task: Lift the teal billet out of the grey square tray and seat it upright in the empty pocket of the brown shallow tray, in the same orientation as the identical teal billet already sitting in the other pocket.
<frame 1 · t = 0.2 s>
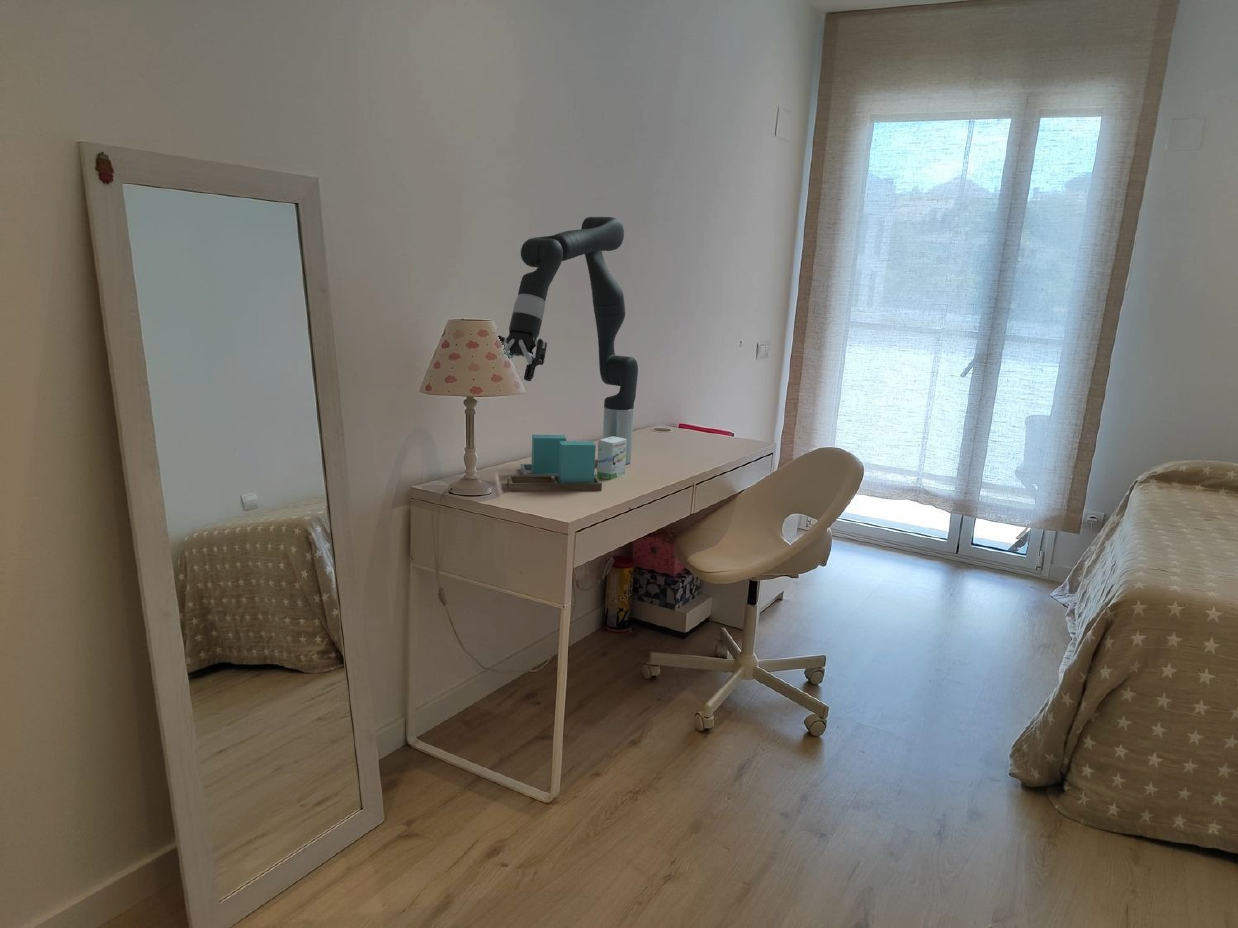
hand: (513, 378, 197), 31 cm above the table, tool tilted 20°, fingers open, 8 cm apart
ink box: (610, 479, 230), on the table
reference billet: (575, 486, 216), point 1 cm above the table, touching brown shallow tray
brown shallow tray: (554, 490, 215), on the table
grey square tray: (547, 477, 229), on the table
billet: (548, 457, 227), in the grey square tray
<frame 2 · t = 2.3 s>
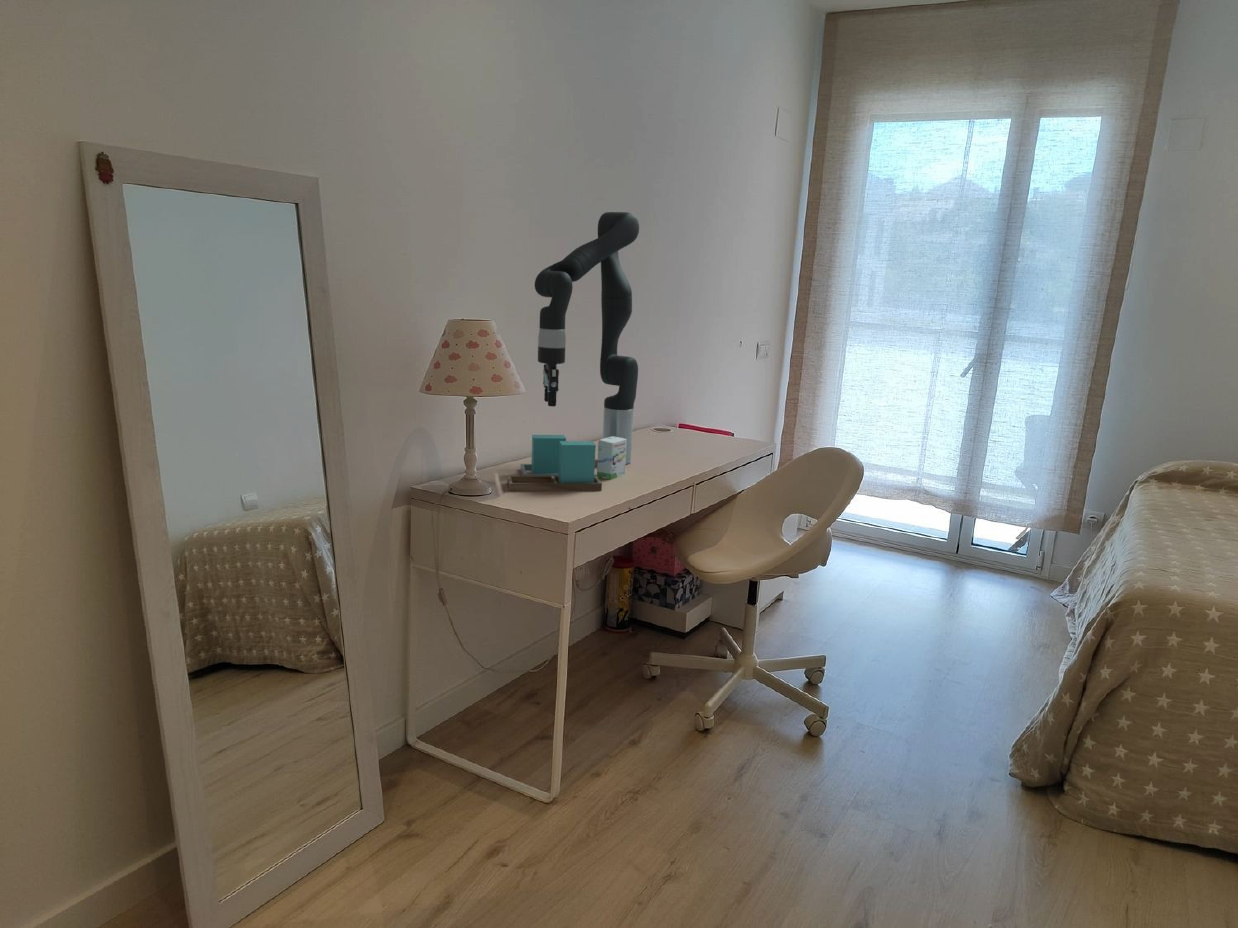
hand: (550, 403, 224), 21 cm above the table, tool pointing down, fingers open, 8 cm apart
nothing on the table moved.
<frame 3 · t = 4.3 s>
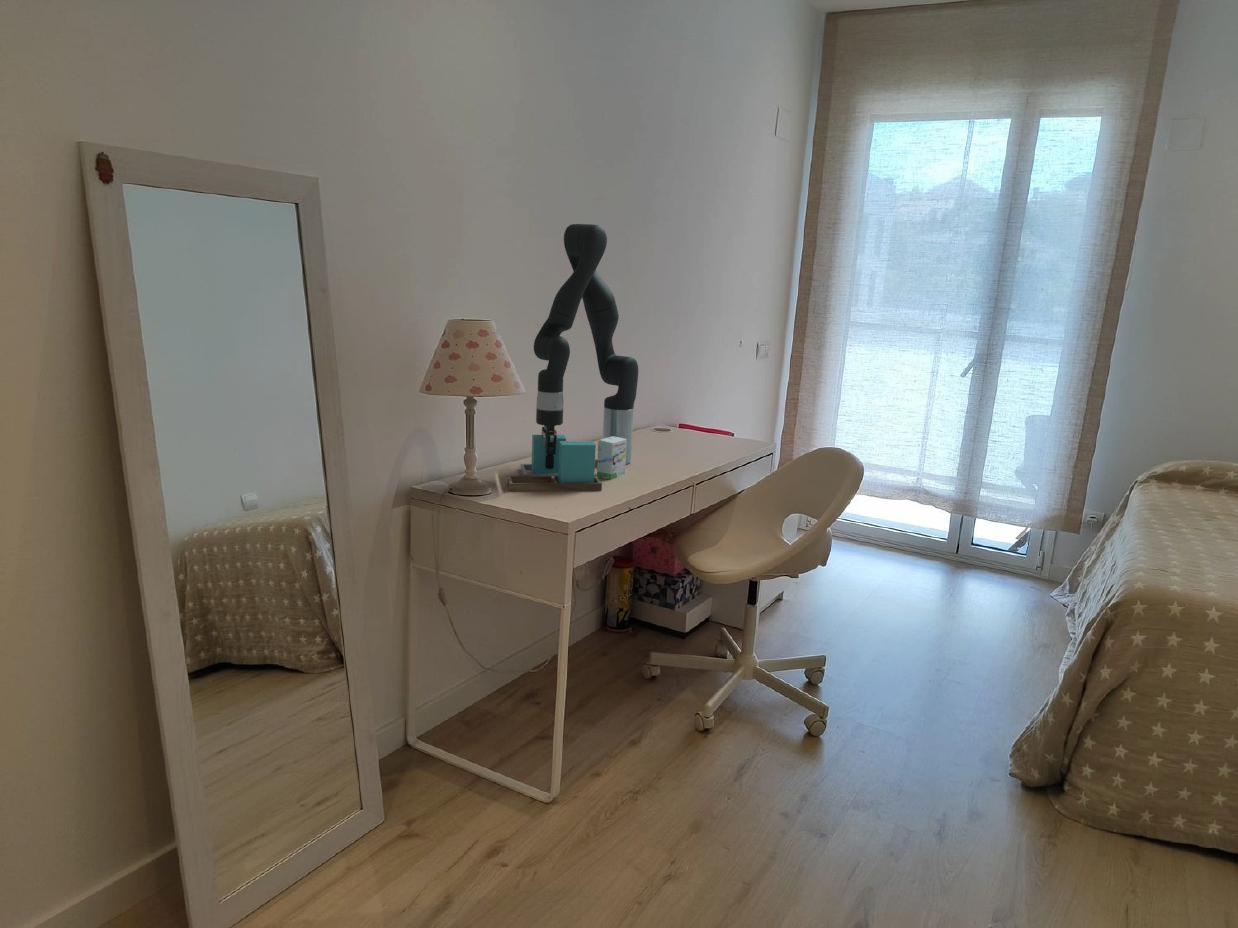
hand: (548, 465, 228), 3 cm above the table, tool pointing down, fingers closed on billet, 5 cm apart
billet: (548, 457, 227), in the grey square tray, touching gripper
everything else where it was.
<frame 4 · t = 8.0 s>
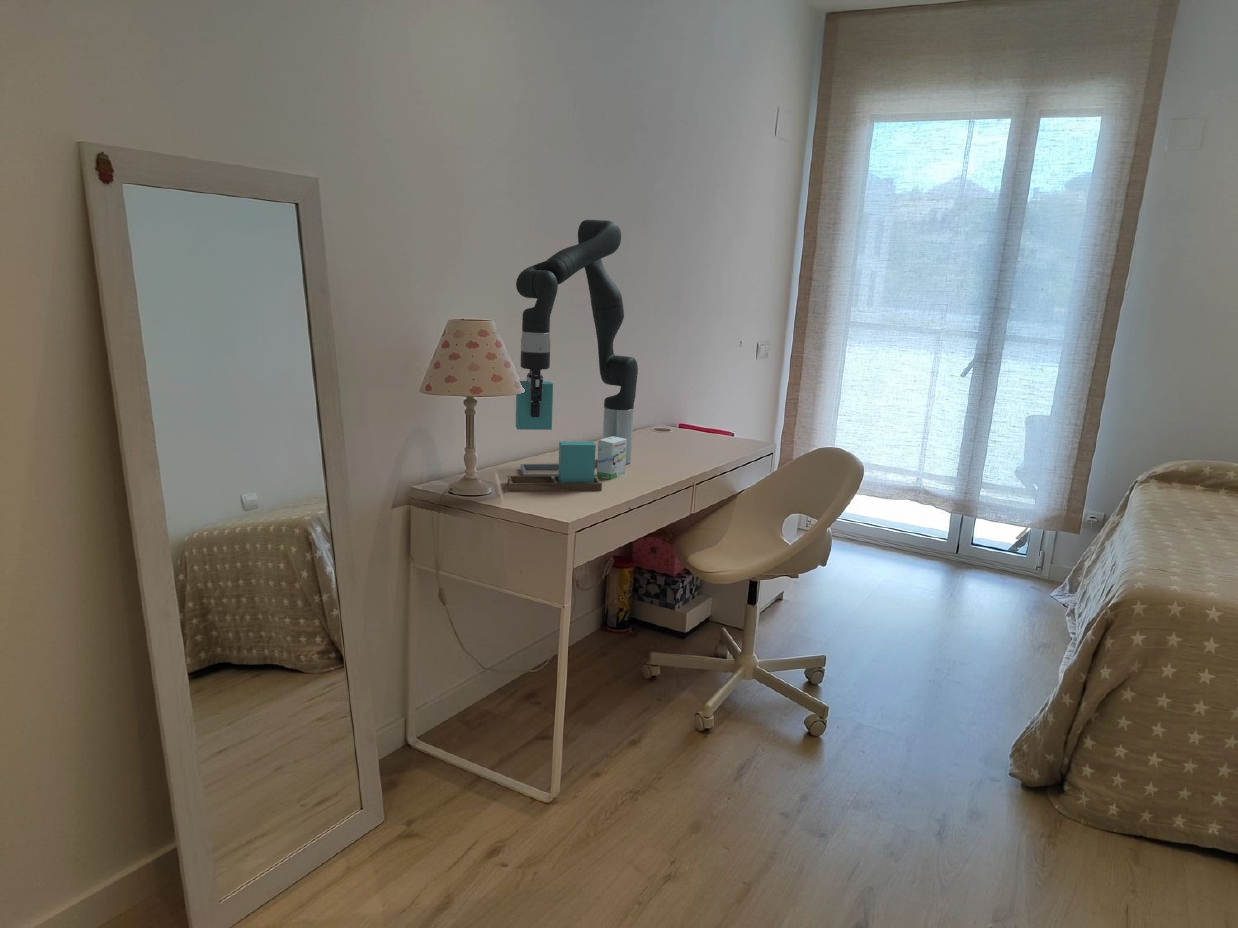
hand: (533, 414, 209), 21 cm above the table, tool pointing down, fingers closed on billet, 5 cm apart
billet: (534, 405, 209), point 23 cm above the table, touching gripper
everything else where it was.
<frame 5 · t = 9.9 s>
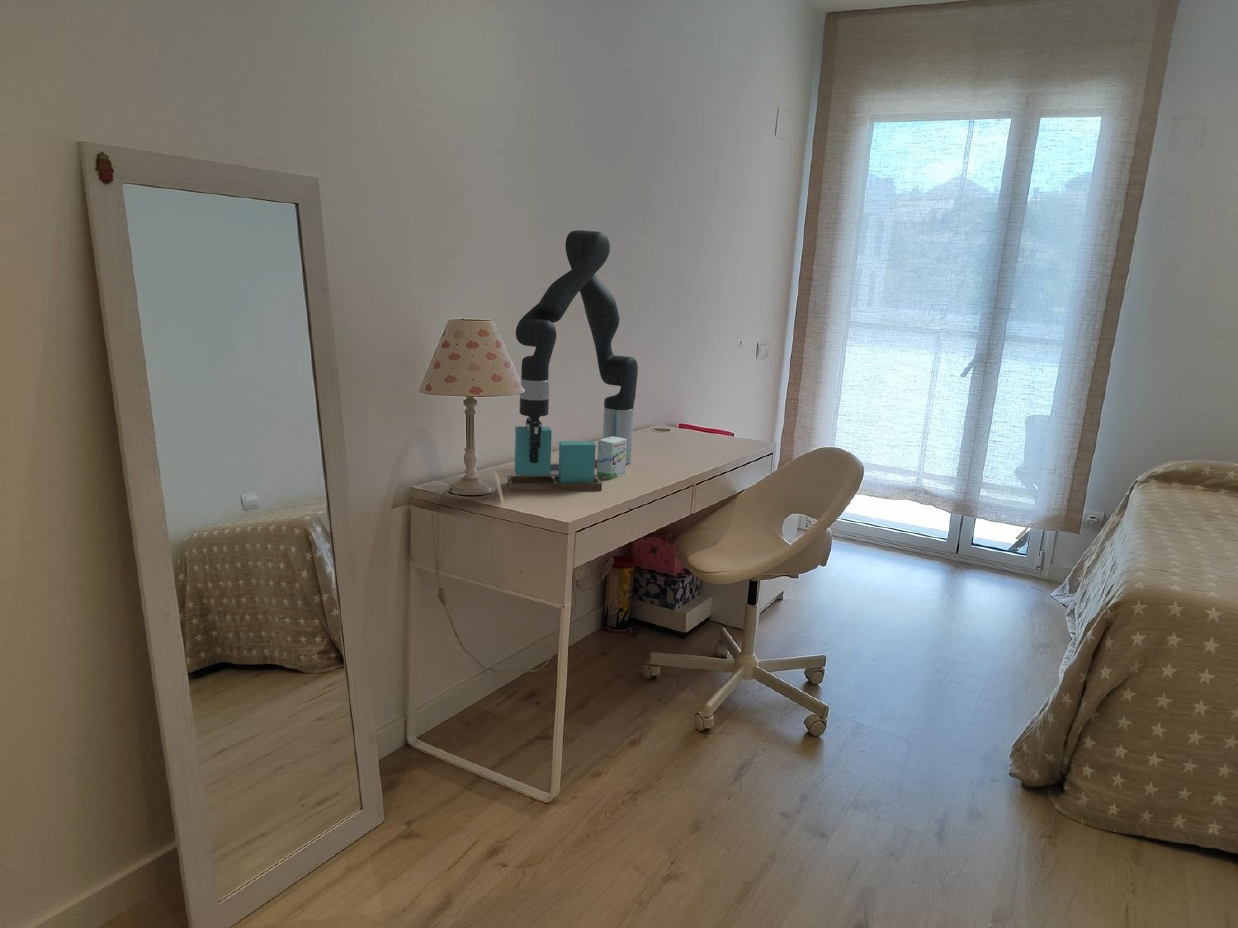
hand: (532, 460, 212), 8 cm above the table, tool pointing down, fingers closed on billet, 5 cm apart
billet: (532, 450, 211), point 11 cm above the table, touching gripper
everything else where it was.
when the fingers open (6 cm above the table, at t = 11.5 s): billet drops 1 cm, resting on brown shallow tray.
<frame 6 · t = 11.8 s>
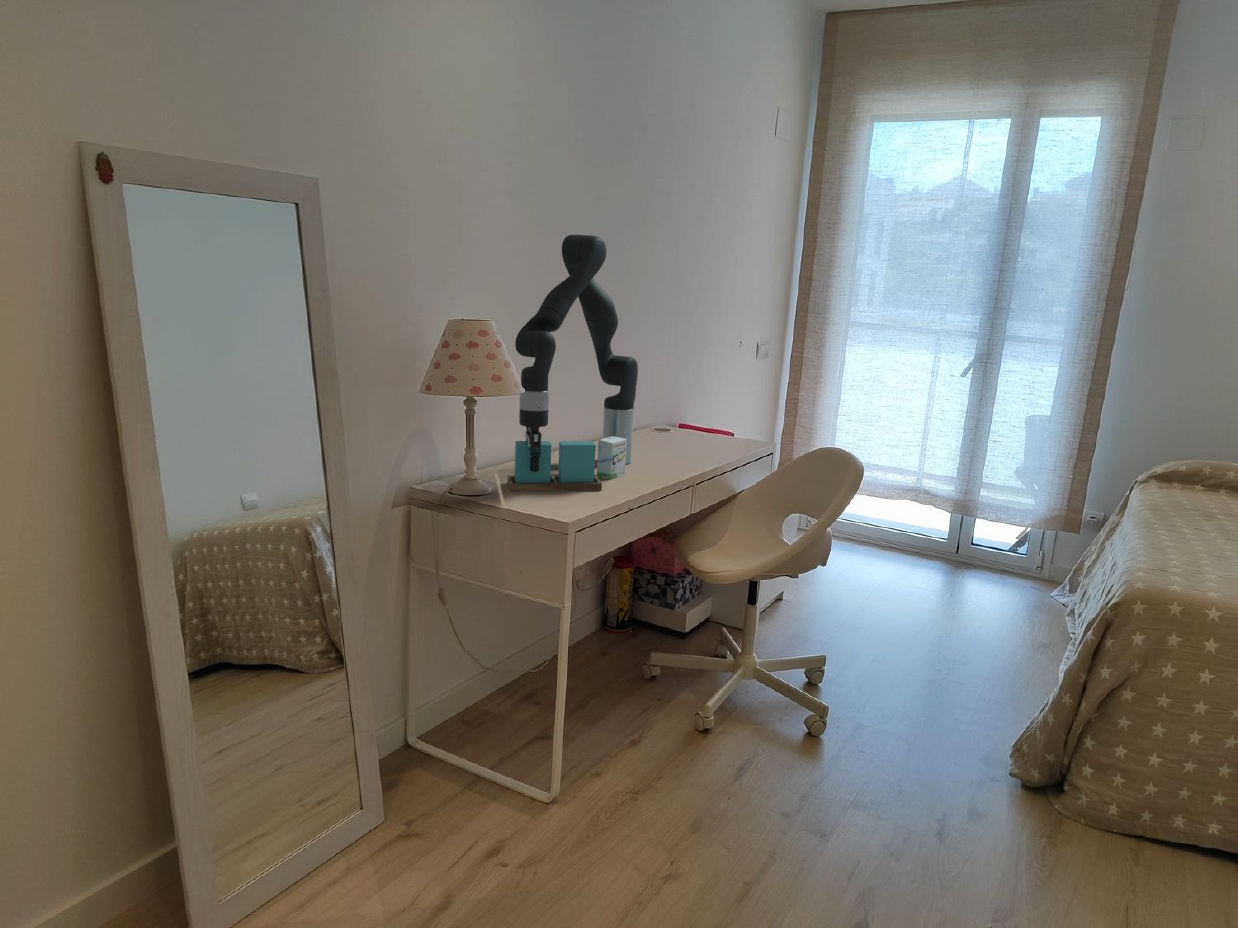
hand: (532, 467, 213), 6 cm above the table, tool pointing down, fingers open, 8 cm apart
billet: (532, 465, 212), in the brown shallow tray, point 7 cm above the table
everything else where it was.
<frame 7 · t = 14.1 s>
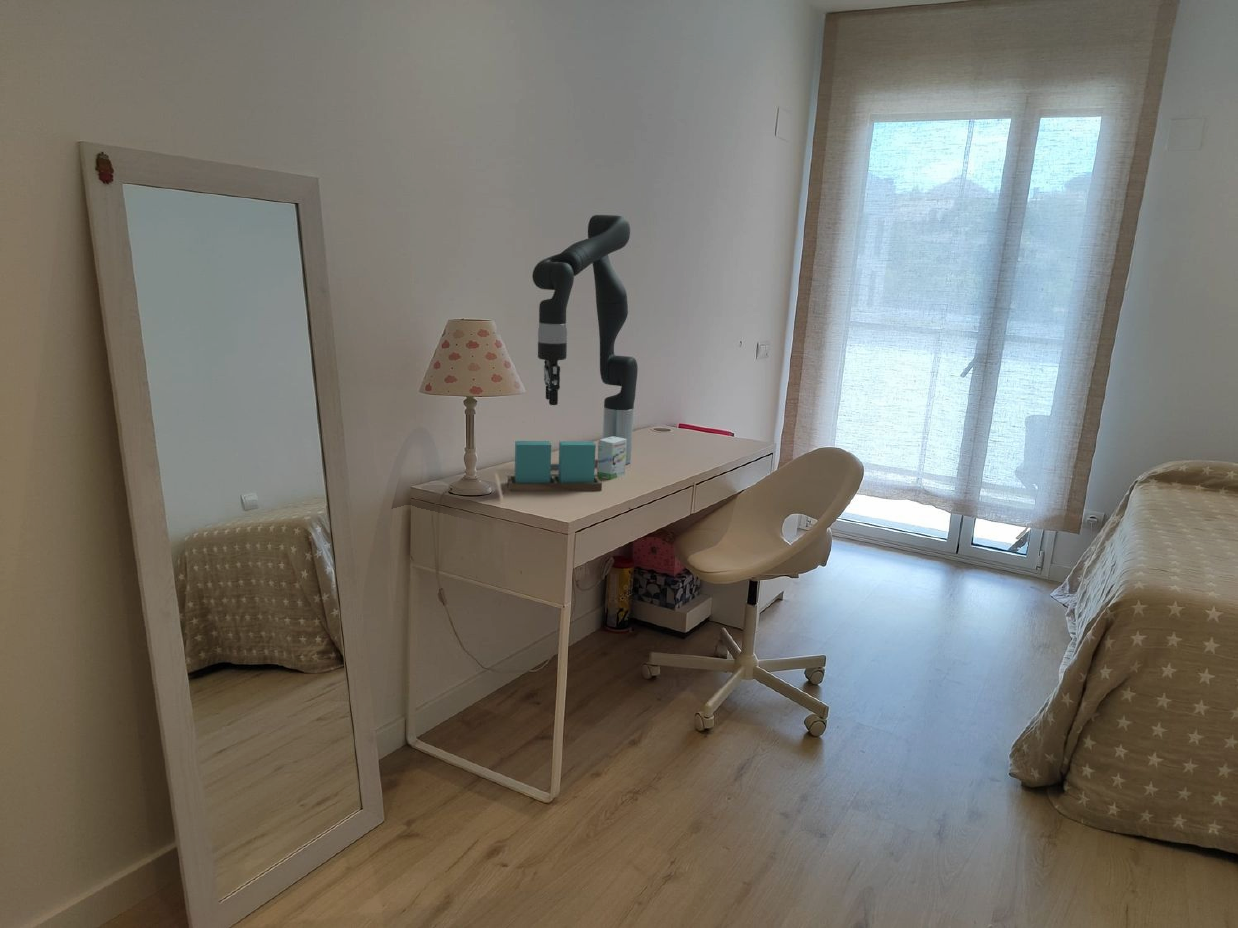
hand: (551, 402, 213), 24 cm above the table, tool pointing down, fingers open, 8 cm apart
nothing on the table moved.
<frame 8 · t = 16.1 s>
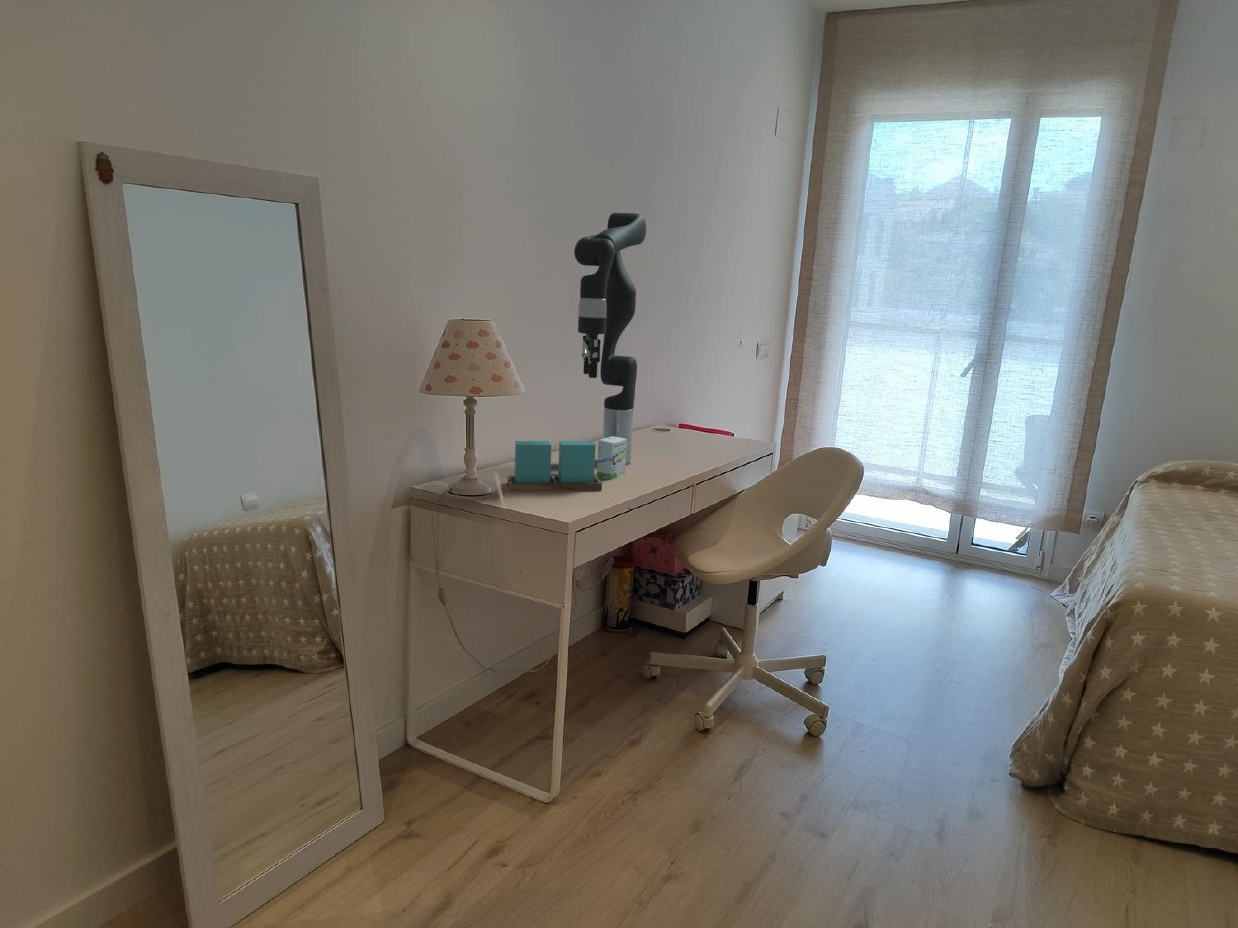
hand: (590, 375, 218), 30 cm above the table, tool pointing down, fingers open, 8 cm apart
nothing on the table moved.
at the end: billet 0.0 cm from the target spot on the brown shallow tray, point 7.0 cm above the brown shallow tray's base; billet tilted 0°; the gripper is holding nothing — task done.
